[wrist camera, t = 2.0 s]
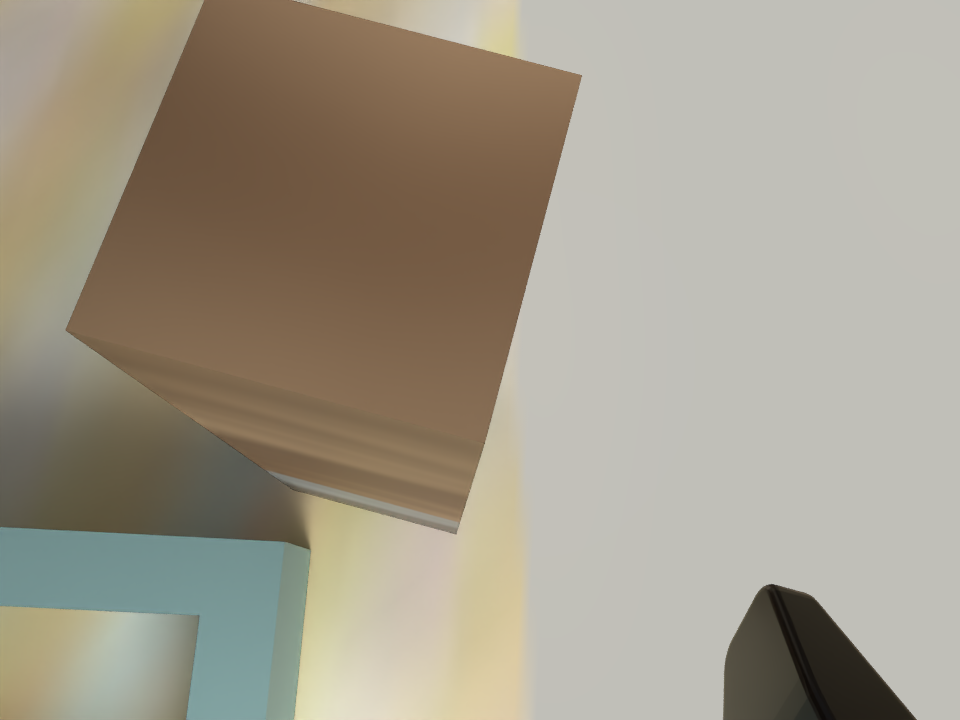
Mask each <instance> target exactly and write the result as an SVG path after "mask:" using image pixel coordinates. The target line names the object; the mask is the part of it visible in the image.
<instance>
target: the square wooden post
mask: <svg viewBox="0 0 960 720" xmlns="http://www.w3.org/2000/svg"><path fill="white" fill-rule="evenodd" d="M581 77H582V75H578V74H575V73H571V72H567V71H563V70H559V69H555V68H551V67H548V66H544V65H540V64H536V63H532V62H528V61H524V60H521V59H517V58H513V57H509V56H505V55H501V54H497V53H493V52H490V51H486V50H482V49H478V48H474V47H470V46H466V45H462V44H459V43H455V42H451V41H447V40H443V39H439V38H435V37H431V36H428V35H424V34H420V33H416V32H412V31H408V30H404V29H400V28H397V27H393V26H389V25H385V24H381V23H377V22H373V21H369V20H366V19H362V18H358V17H354V16H350V15H346V14H342V13H338V12H335V11H331V10H327V9H323V8H319V7H315V6H311V5H307V4H304V3H300V2H296V1H292V0H204V3H203V5H202V8H201V10H200V12H199V15H198V17H197V19H196V22H195V24H194V27H193V29H192V31H191V34H190V36H189V38H188V41H187V43H186V45H185V48H184V50H183V53H182V55H181V57H180V60H179V62H178V64H177V67H176V69H175V72H174V74H173V76H172V79H171V81H170V83H169V86H168V88H167V91H166V93H165V95H164V98H163V100H162V102H161V105H160V107H159V110H158V112H157V114H156V117H155V119H154V121H153V124H152V126H151V129H150V131H149V133H148V136H147V138H146V140H145V143H144V145H143V148H142V150H141V152H140V155H139V157H138V159H137V162H136V164H135V166H134V169H133V171H132V174H131V176H130V178H129V181H128V183H127V185H126V188H125V190H124V193H123V195H122V197H121V200H120V202H119V204H118V207H117V209H116V212H115V214H114V216H113V219H112V221H111V223H110V226H109V228H108V231H107V233H106V235H105V238H104V240H103V242H102V245H101V247H100V250H99V252H98V254H97V257H96V259H95V261H94V264H93V266H92V269H91V271H90V273H89V276H88V278H87V280H86V283H85V285H84V287H83V290H82V292H81V295H80V297H79V299H78V302H77V304H76V306H75V309H74V311H73V314H72V316H71V318H70V321H69V323H68V325H67V328H66V331H67V332H69V333H70V334H71V335H73V336H74V337H76V338H77V339H79V340H80V341H81V342H83V343H84V344H86V345H87V346H89V347H90V348H91V349H93V350H94V351H96V352H97V353H99V354H100V355H101V356H103V357H104V358H106V359H107V360H109V361H110V362H111V363H113V364H114V365H116V366H117V367H118V368H120V369H121V370H123V371H124V372H126V373H127V374H128V375H130V376H131V377H133V378H134V379H136V380H137V381H138V382H140V383H141V384H143V385H144V386H146V387H147V388H148V389H150V390H151V391H153V392H154V393H156V394H157V395H158V396H160V397H161V398H163V399H164V400H166V401H167V402H168V403H170V404H171V405H173V406H174V407H176V408H177V409H178V410H180V411H181V412H183V413H184V414H186V415H187V416H188V417H190V418H191V419H193V420H194V421H196V422H197V423H198V424H200V425H201V426H203V427H204V428H206V429H207V430H208V431H210V432H211V433H213V434H214V435H216V436H217V437H218V438H220V439H221V440H223V441H224V442H226V443H227V444H228V445H230V446H231V447H233V448H234V449H235V450H237V451H238V452H240V453H241V454H243V455H244V456H245V457H247V458H248V459H250V460H251V461H253V462H254V463H255V464H257V465H258V466H260V467H261V468H263V469H264V470H265V471H267V472H268V473H270V474H271V475H273V476H274V477H275V478H277V479H278V480H280V481H281V482H283V483H284V484H285V485H287V486H288V487H290V488H291V489H293V490H296V491H299V492H303V493H307V494H310V495H314V496H318V497H321V498H325V499H329V500H332V501H336V502H340V503H343V504H347V505H351V506H354V507H358V508H362V509H366V510H369V511H373V512H377V513H380V514H384V515H388V516H391V517H395V518H399V519H402V520H406V521H410V522H413V523H417V524H421V525H424V526H428V527H432V528H435V529H439V530H443V531H446V532H450V533H454V534H456V533H457V530H458V527H459V524H460V520H461V517H462V514H463V511H464V508H465V504H466V501H467V498H468V495H469V492H470V488H471V485H472V482H473V479H474V476H475V472H476V469H477V466H478V463H479V460H480V457H481V453H482V450H483V447H484V444H485V440H486V436H487V433H488V429H489V425H490V421H491V417H492V414H493V410H494V406H495V402H496V399H497V395H498V391H499V387H500V383H501V380H502V376H503V372H504V368H505V365H506V361H507V357H508V353H509V349H510V346H511V342H512V338H513V334H514V331H515V327H516V323H517V319H518V315H519V312H520V308H521V304H522V300H523V297H524V293H525V289H526V285H527V281H528V278H529V273H530V270H531V266H532V262H533V259H534V255H535V251H536V247H537V243H538V240H539V236H540V232H541V229H542V225H543V221H544V217H545V213H546V210H547V206H548V202H549V198H550V194H551V191H552V187H553V183H554V179H555V176H556V172H557V167H558V164H559V160H560V157H561V153H562V149H563V145H564V142H565V138H566V134H567V130H568V127H569V122H570V119H571V115H572V111H573V107H574V104H575V100H576V96H577V92H578V89H579V85H580V81H581Z"/></svg>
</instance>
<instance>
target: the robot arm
mask: <svg viewBox="0 0 960 720" xmlns="http://www.w3.org/2000/svg"><path fill="white" fill-rule="evenodd" d="M723 720H917V719H916V718H915V717H914V716H913V715H912V713H911V712H910V711H909V710H908V709H907V707H906V706H905V705H904V704H903V703H902V701H901V700H900V699H899V698H898V697H897V696H896V695H895V693H894V692H893V691H892V690H891V688H890V687H889V686H888V685H887V684H886V682H885V681H884V680H883V679H882V678H881V677H880V675H879V674H878V673H877V672H876V671H875V669H874V668H873V667H872V666H871V665H870V664H869V663H868V661H867V660H866V659H865V657H864V656H863V655H862V654H861V653H860V652H859V650H858V649H857V648H856V647H855V646H854V644H853V643H852V642H851V641H850V640H849V638H848V637H847V636H846V635H845V634H844V632H843V631H842V630H841V629H840V628H839V627H838V625H837V624H836V623H835V622H834V621H833V620H832V618H831V617H830V616H829V615H828V614H827V612H826V611H825V610H824V609H823V607H822V606H821V605H820V604H819V603H818V602H817V601H816V600H815V599H814V598H813V597H812V596H811V595H809V594H806V593H804V592H800V591H796V590H793V589H789V588H785V587H782V586H778V585H774V584H770V585H766V586H764V587H763V588H761V590H760V591H759V592H758V593H757V595H756V596H755V598H754V600H753V602H752V604H751V606H750V607H749V609H748V611H747V613H746V615H745V617H744V619H743V621H742V622H741V624H740V626H739V628H738V630H737V632H736V634H735V635H734V637H733V639H732V641H731V643H730V646H729V648H728V652H727V655H726V661H725V670H724V708H723Z"/></svg>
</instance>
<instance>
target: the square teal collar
mask: <svg viewBox="0 0 960 720" xmlns="http://www.w3.org/2000/svg"><path fill="white" fill-rule="evenodd" d="M310 553H311V550H309V549H306V548H303V547H300V546H297V545H293V544H290V543H287V542H281V541H261V540H242V539H223V538H203V537H184V536H165V535H145V534H126V533H106V532H87V531H68V530H48V529H29V528H10V527H0V606H15V607H36V608H56V609H77V610H97V611H118V612H138V613H159V614H180V615H200V618H199V625H198V633H197V641H196V648H195V656H194V663H193V671H192V678H191V686H190V694H189V701H188V709H187V716H186V720H294V713H295V703H296V693H297V683H298V673H299V663H300V653H301V643H302V633H303V623H304V613H305V603H306V593H307V583H308V573H309V563H310Z"/></svg>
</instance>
